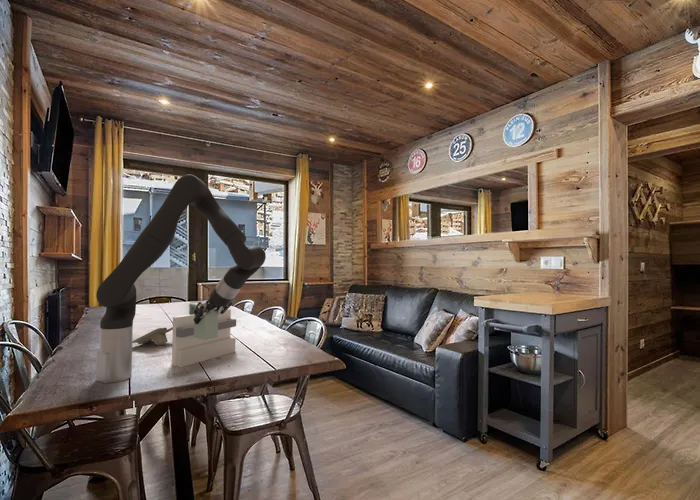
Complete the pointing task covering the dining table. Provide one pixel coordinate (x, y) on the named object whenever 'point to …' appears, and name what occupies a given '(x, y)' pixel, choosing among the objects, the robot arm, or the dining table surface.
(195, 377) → the dining table surface
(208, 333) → the sage cabinet
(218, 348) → the cleat board
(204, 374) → the dining table surface
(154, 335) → the olive slanted plate stand
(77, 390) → the dining table surface
